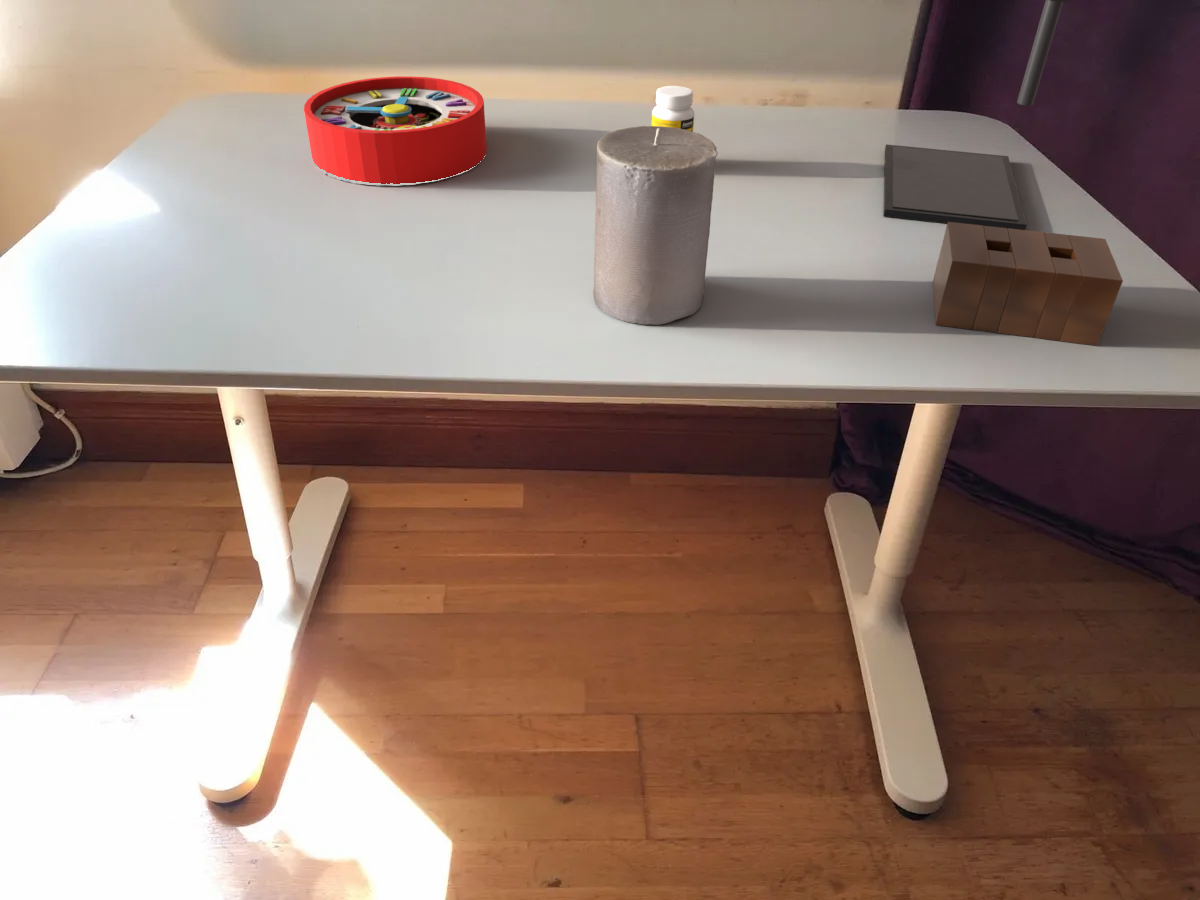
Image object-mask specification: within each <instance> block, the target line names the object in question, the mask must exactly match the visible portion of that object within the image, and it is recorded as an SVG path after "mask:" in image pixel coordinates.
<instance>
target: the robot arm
mask: <svg viewBox="0 0 1200 900" xmlns="http://www.w3.org/2000/svg"><path fill="white" fill-rule="evenodd" d="M1049 1H1062V2H1063V3H1066V2H1067V3H1068V2H1070V1H1071V0H1049Z"/></svg>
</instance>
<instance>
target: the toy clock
mask: <svg viewBox="0 0 1200 900" xmlns="http://www.w3.org/2000/svg"><path fill="white" fill-rule="evenodd" d="M303 105H304V107H303V113H304V119H305V125H306V130H307V136H308V142H309V149H310V154H311V160H312V159H313V161H314V163H315V164H316V165H317V166H318V167H319V168H320V169H323V170H325V171H326V172H327V173H331V174H333V175H336V176H338V177H343V178H345V179H349V180H355V181H362V182H369V183H381V184H386V183H387V184H390V183H393V184H400V183H416V182H425V181H432V180H438V179H441V178H446V177H450V176H453V175H456V174H458V173H461V172H463V171H466V170H469V169H470V168H472V167H474V166H476V165H477V164H478V163H480V161H482V160H483V158H484V156H485V155H486V156H487V153H486V151H487V152H488V149H487V148H488V147H487V132H486V116H485V99H484V97H483V95H482V94H481V93H480V92H479V91H478V90H476V89H475V88H474V87H472V86H469V85H467V84H464V83H460V82H457V81H455V80H450V79H449V80H448V79H444V78H436V77H428V76H412V75H411V76H410V75H409V76H402V75H401V76H397V75H396V76H381V77H372V78H371V77H370V78H365V79H357V80H353V81H349V82H348V81H347V82H343V83H339V84H336V85H333V86H329V87H327V88H324V89H322V90H319V91H318V92H316V93H314V94H313V95H312V96H310V97H309V98H308V99H307V100H306V101H305V103H304V104H303ZM484 159H485V158H484ZM313 161H312V162H313ZM483 161H484V160H483ZM483 161H482V162H483ZM314 163H313V164H314ZM480 164H481V163H480Z"/></svg>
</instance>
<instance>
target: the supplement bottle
mask: <svg viewBox="0 0 1200 900" xmlns="http://www.w3.org/2000/svg"><path fill="white" fill-rule="evenodd" d="M693 95H694V92H693V89H691V88H690V87H686V86H681V85H666V86H661V87H659V88H657V89H656V95H655V104H656V106H654V108H653V109H652V112H651V125H650V126H663V127H672V128H679V129H684V130H689V131H692V132H694V123H695V122H694V121H695V111H694V109H693V108H692V105H693V102H694V100H693Z"/></svg>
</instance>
